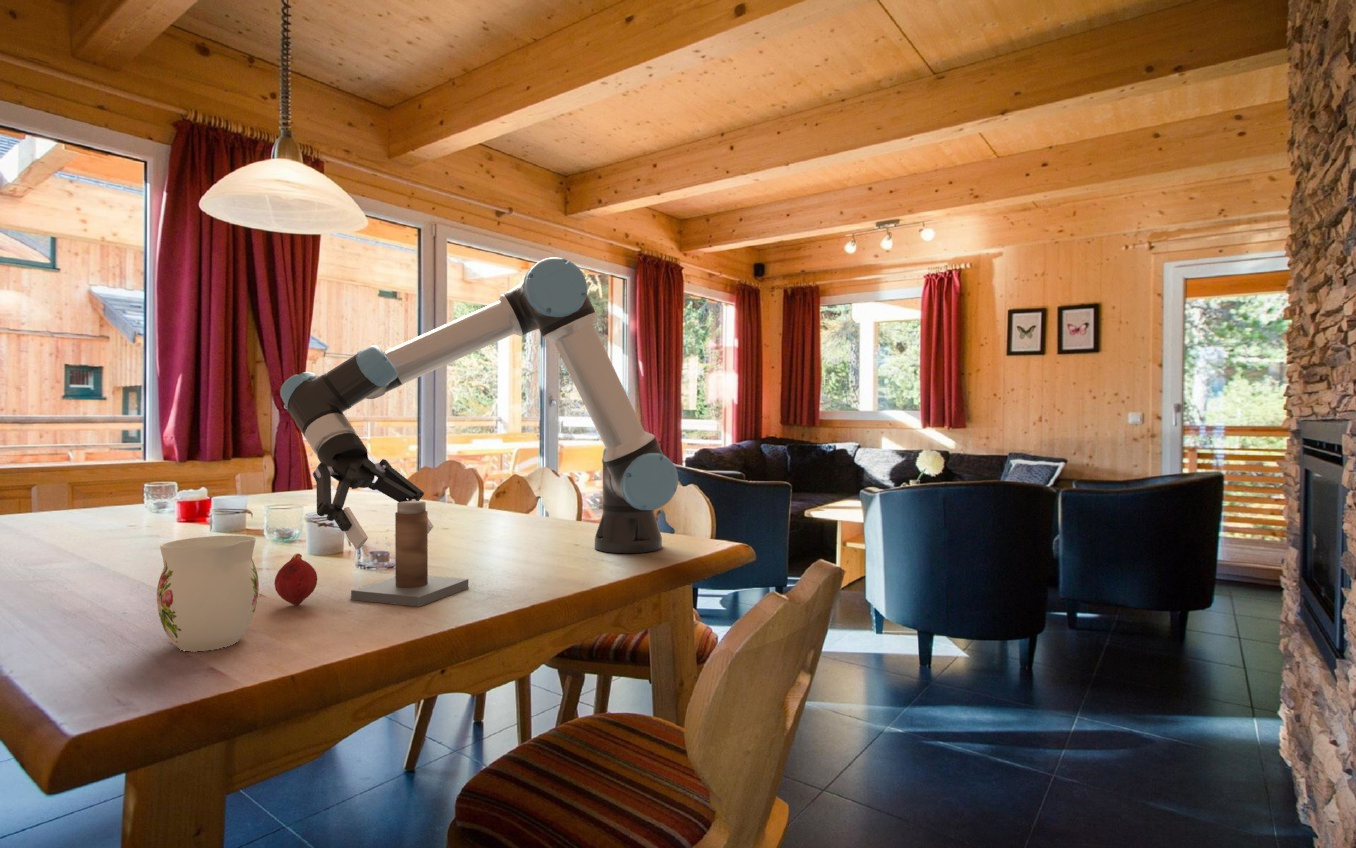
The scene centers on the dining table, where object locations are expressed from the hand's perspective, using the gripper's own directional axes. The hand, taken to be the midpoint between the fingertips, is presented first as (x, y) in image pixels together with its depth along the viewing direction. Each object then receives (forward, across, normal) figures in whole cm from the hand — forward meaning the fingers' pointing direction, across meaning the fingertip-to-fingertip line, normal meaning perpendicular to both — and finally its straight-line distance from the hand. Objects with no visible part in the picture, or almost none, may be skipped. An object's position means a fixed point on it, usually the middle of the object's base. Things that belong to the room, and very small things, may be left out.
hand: (396, 537), depth 121 cm
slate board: (+9, 0, -4) cm, 10 cm away
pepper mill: (+8, 0, -3) cm, 8 cm away
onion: (+2, +14, -11) cm, 18 cm away
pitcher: (+7, +31, -6) cm, 32 cm away
